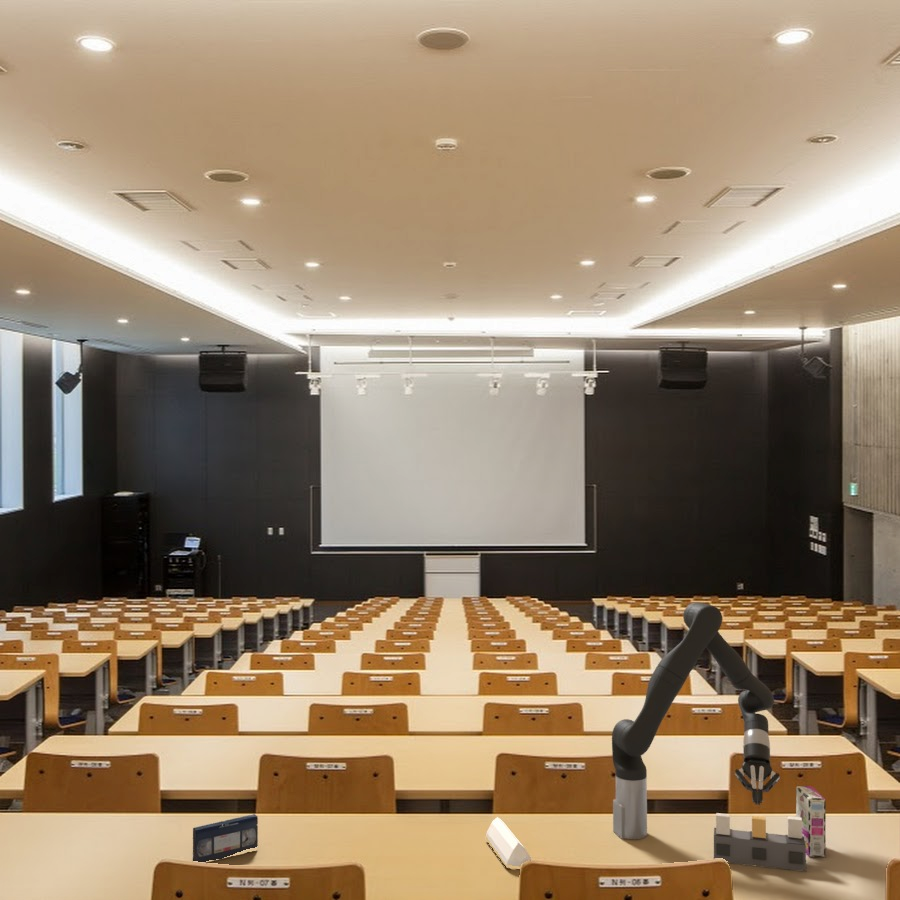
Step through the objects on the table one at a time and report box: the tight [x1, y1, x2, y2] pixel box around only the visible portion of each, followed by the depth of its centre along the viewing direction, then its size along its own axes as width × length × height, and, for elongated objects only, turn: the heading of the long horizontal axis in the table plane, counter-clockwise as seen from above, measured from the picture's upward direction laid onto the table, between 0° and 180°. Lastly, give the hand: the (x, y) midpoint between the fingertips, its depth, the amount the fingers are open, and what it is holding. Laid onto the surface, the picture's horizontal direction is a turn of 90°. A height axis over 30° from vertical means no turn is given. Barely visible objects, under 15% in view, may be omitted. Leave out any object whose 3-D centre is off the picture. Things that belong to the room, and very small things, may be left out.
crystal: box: [485, 816, 532, 867], centre depth 267 cm, size 7×7×24 cm
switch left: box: [715, 812, 731, 835], centre depth 262 cm, size 4×2×5 cm, turn 73°
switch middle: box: [751, 815, 767, 838], centre depth 260 cm, size 4×2×5 cm, turn 73°
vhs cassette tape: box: [192, 813, 259, 862], centre depth 266 cm, size 18×3×10 cm, turn 122°
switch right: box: [787, 816, 802, 838], centre depth 260 cm, size 4×2×5 cm, turn 73°
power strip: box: [713, 827, 807, 872], centre depth 261 cm, size 24×6×7 cm, turn 73°
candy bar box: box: [795, 785, 827, 858], centre depth 269 cm, size 11×5×16 cm, turn 178°
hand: (757, 803), depth 269 cm, fingers closed
